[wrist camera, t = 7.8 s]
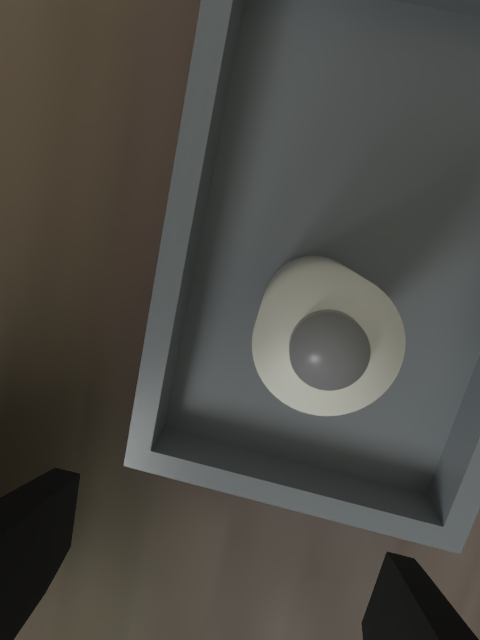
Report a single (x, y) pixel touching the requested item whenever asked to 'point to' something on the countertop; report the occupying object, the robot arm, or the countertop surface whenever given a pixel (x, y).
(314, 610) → the countertop surface
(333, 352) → the cell
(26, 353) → the countertop surface
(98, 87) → the countertop surface
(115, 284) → the countertop surface
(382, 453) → the tray
